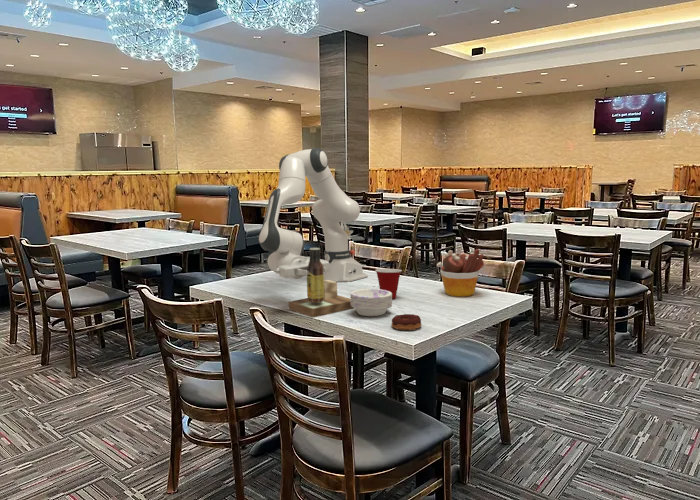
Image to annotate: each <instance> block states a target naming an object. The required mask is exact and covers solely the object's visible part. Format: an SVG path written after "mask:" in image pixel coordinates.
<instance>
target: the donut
mask: <svg viewBox="0 0 700 500" xmlns="http://www.w3.org/2000/svg"><path fill="white" fill-rule="evenodd" d="M391 327H392V328H394V329H396V330H399V331H415V330H417V329H419V328H421V327H422V319H421V317H420V316H419V315H418V314H410V313H409V314H408V313H406V314H405V313H404V314H397V315H395V316H394V317H393V318H392V319H391Z"/></svg>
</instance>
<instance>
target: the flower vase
mask: <svg viewBox="0 0 700 500" xmlns="http://www.w3.org/2000/svg"><path fill="white" fill-rule="evenodd" d="M340 226H341V228H342V229H343V230H344V231H345V232H346V233H347V235H348V241H349V240H351V239H352V237H351V236H352V234H353V233H354V230H352V229H351V230H350V227H349V226H348V225H346V223H344V222H340ZM322 233H323V234H324V231H323V230H322Z"/></svg>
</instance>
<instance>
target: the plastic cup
mask: <svg viewBox="0 0 700 500" xmlns="http://www.w3.org/2000/svg"><path fill="white" fill-rule="evenodd" d="M374 271H375V273H376V276H377V277H376V278H377V281H378V285H379V286H378V287H379V289H381V290H387V291H390V292H391V293H392V300H395V299H396V297H397V292H398V288H399V281H400V277H401V274H402V271H403V270H402V269H399V268H398V269H397V268H377V269H375V270H374Z"/></svg>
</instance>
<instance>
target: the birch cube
mask: <svg viewBox="0 0 700 500" xmlns="http://www.w3.org/2000/svg"><path fill="white" fill-rule="evenodd" d="M337 295H338V282H334V281H330V280H324V299H325V300H326V299H331V298H335V297H337Z"/></svg>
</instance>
